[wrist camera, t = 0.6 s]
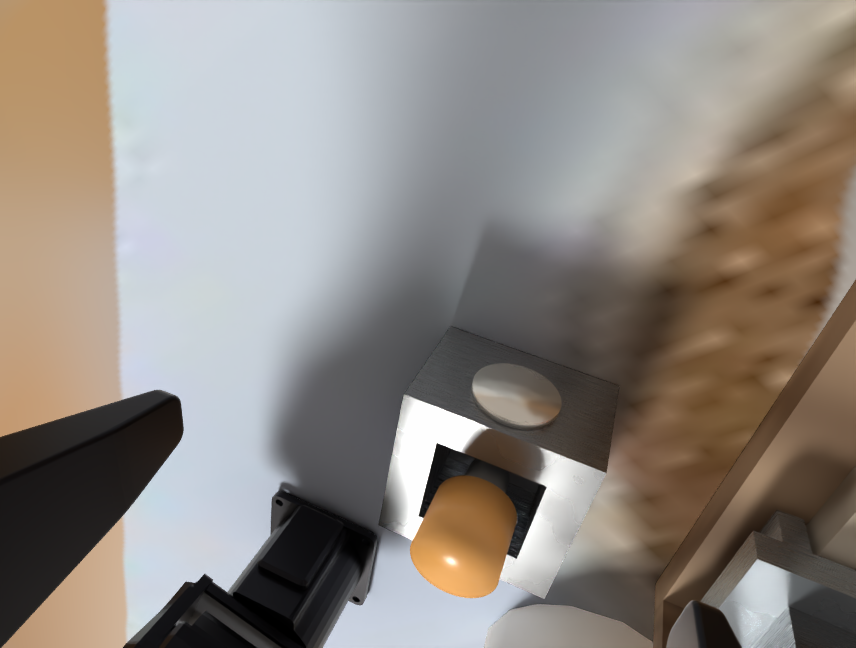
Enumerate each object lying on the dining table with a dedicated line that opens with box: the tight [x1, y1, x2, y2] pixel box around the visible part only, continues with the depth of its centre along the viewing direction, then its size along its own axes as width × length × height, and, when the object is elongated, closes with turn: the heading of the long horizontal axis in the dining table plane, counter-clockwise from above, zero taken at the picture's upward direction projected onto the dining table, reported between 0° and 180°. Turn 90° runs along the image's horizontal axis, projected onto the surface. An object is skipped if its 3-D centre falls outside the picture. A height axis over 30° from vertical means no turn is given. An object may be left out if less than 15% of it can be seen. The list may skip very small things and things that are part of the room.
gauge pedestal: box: [379, 327, 619, 599], centre depth 23 cm, size 7×7×5 cm
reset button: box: [410, 459, 517, 598], centre depth 20 cm, size 3×3×4 cm
